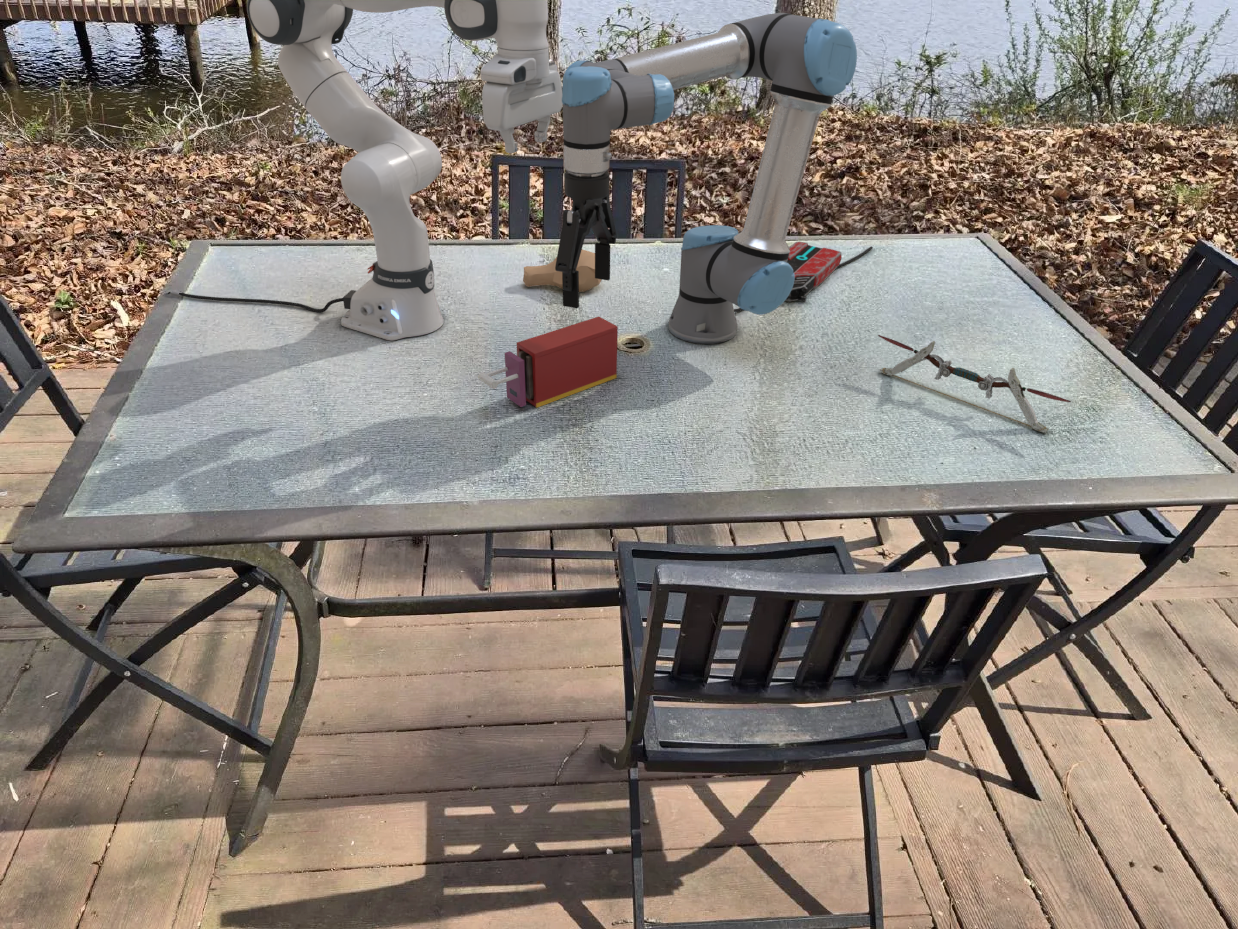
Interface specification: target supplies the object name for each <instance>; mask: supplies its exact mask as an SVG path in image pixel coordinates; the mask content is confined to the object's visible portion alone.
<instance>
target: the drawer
mask: <svg viewBox="0 0 1238 929" xmlns="http://www.w3.org/2000/svg"><path fill="white" fill-rule="evenodd" d="M504 366H505V367H501V368H498V369H496V370H492V371H490V372H487V373H486V372H484V371H481V372H479V373H478V375H477V378H478V380H479V381H481V382H482V383H483V384H485V385H487V386H488V387H489V388H491V389H493V390H495V389H496V388H498V386H499V385H501V384H503V383H505V386H506V398H507V399H509V401H511V402H513V403H514V404H516V405H517V406H519V407H520V408H523V407H525V406H527V401H526V398H528V399H529V400H531V399H534V392H533V363H532V356H531V355H529V354H528V353H526V352H524V351H523V350H522V351H519V357H518V356H517V354H515V353H514V352H512V351H511V350H509V351H505V352H504ZM502 373H505V377H502V378H500V379H497V380H495V378H493V377H494V376H497V375H499V374H502Z"/></svg>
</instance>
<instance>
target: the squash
mask: <svg viewBox="0 0 1238 929" xmlns="http://www.w3.org/2000/svg"><path fill="white" fill-rule="evenodd" d="M556 260H557V256H556V257H555V258H554V260H553V261H551V262H549V263H547V264H542V265H526V266H523V278H522V282H523V284H524V285H525V286H526V287H529V288H530V287H535V286H552V287H557V288H559V289H561V290H563V284H562V272H560V271H556V270H555V266H556ZM576 270H577V271H579V293H586V292H588V291H590V290H592V289H594V288H596V287H597V286H600V284H601V283H602V279H596V278H595V252H593V251H590V250H586V249H583V248H582V250H581V254H580V257H579V261H578V265H577V268H576Z"/></svg>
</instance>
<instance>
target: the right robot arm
mask: <svg viewBox="0 0 1238 929" xmlns="http://www.w3.org/2000/svg"><path fill="white" fill-rule="evenodd" d="M857 61H858V51H857V44H856V41H854V35H852V32H851V31H850V30H849V28H848V27H847V26H845V25H843V23H842V24H841V23H839V22H836V21H832V20H830V19H828V18H826V19H825V18H817V17H811V16H805V15H804V16H803V15H797V14H792V13H787V12H774V13H767V14H763V15H759V16H754V17H750V18H746V19H743V20H738V21H735V22H731V23H727V24H725V25H722V27H721V28H719V30H718V32H715V33H711V34H707V35H702V36H699V37H695V38H692V39H688V40H684V41H680V42H679V41H678V42H676V43H672V44H668V45H663V46H660V47H656V48H651V49H647V50H643V51H640V52H635V53H632V54H628V55H624V56H619V57H615V58H611V59H606V60H602V61H598V62H597V61H596V62H594V61H591V60H576V61H574V62H573V63H571V64H570V65H569V66H568V67H567V68H566V70H565V71H564V74H563V77H562V103H563V105H562V132H563V135H562V136H563V137H562V138H563V143H562V144H563V148H562V149H563V151H562V152H563V169H564V170H565V172H563V184H564V185H563V189H564V190H563V192H564V195H565V196H567V198H570V199H571V201H572V206H571V209H564V210H563V212H562V226H561V231H560V238H559V244H558V248H557V255H556V257H557V260H556V266H555V270H556V271H560V272H562V284H563V289H562V306H563V307H567V308H573V309H579V308H580V292H579V271H577V270H576V268H577V265H578V261H579V257H580V254H581V250H582V249H583V246H584V243H585V240H586V236H588V235H589V234H590V232H591V230H592V232H593V234H594V237H595V239H596V241H597V242H596V243H594V253H595V278H596V279H602V280H604V281H610V280H611V245H615V244H616V242H617V238H616V235H617V230H616V224H615V220H614V216H613V211H612V206H611V201H610V181H611V180H610V177H611V176H610V173H609V169H610V159H612V157H613V154H612V152H611V150H610V149H611V148H610V144H611V132H612V131H614V130H621V129H627V128H628V129H629V128H634V127H643V126H652V125H656V124H659V123H663V122H665V121H667V120H669V118H670V117H671V115H672V113H673V111H674V108H675V90H678V89H682V88H683V89H684V88H687V87H690V86H694V85H697V84H698V85H699V84H701V83H705V82H709V81H712V80H716V79H719V78H723V77H726V78H728V79H730V80H738V79H741V78H759V79H765V80H768V81H771V82H772V83H771V85H770V89H769V94H770V96H771V97H772V100H773V101H774V107H773V110H772V115H771V119H770V123H769V128H768V130H767V135H766V139H765V143H764V147H763V150H762V154H761V159H760V163H759V166H758V170H757V174H756V178H755V183H754V186H753V190H752V194H751V198H750V202H749V207H748V209H747V214H746V218H745V222H744V226H743V229H742V230H741V231H740V232H739V231H738V229H737V228H735V227H733V226H729V225H721V224H720V225H719V224H715V225H713V224H712V225H709V224H708V225H701V226H700V225H699V226H696V227H692V228H690V229H688V230H687V231H686V232H685V233H684V235H683V236H682V245H681V248H680V250H681V251H680V252H681V253H680V271H679V287H678V288H679V289H678V297H677V298H676V302H675V304H674V306H673V309H672V312H671V313H670V316H669V319H668V331H669V332H670V334H671V335H672V336H673V337H676V339H677V338H678V339H679V340H682V341H685V342H689V343H693V344H701V345H713V344H720V343H725V342H727V341H730V340H731V339H733V338H734V337H736V335H737V333H738V320H737V317H736V315H735V314H736V313H738V312H741V311H745V312H749V313H752V314H754V315H768V314H770V313H772V312H773V311H775V310H777V309H778V308H779V307H780V306H781V305H783V304H784V303H785V302H786V301H785V300H786V299H787V297H788V296H789V294H790V292H791V290H792V288H793V284H794V279H795V275H794V273H793V269H792V267H791V266H790V265H789V264H788V263H787V260H788V257H789V253H790V248H789V247H790V246H789V244H788V243H787V240H786V238H787V235H788V232H789V228H790V225H791V220H792V217H793V213H794V210H795V206H796V204H797V200H798V199H797V198H798V196H799V193H800V192H799V191H800V189H801V184H802V180H803V177H804V175H805V174H804V173H805V170H806V166H807V163H808V160H809V156H810V152H811V148H812V145H813V141H814V138H815V133H816V130H817V127H818V123H819V120H820V117H821V114H822V113H823V112H824V111H826V110H827V109H828V108H830V107H832V104H833V99H834V97H835V96H837V95H839V94H841V93H842V92H844V91H845V90H846V88H847V86H849V85H850V84H851V82H852V80H853V77H854V75H855V72H856V68H857ZM872 249H873V246H869V247H868V248H866V249H865V250H863V251H862V252H861V253H859V254H858V255H856V256H854V257H852V258H850V259H848V260H846V261H844V262H840V264H839V266H838V267H837V268H836V269H835V270H837V269H839V268H841V267H843V266H845V265H849V264H850V263H852V262H854V261H856V260H857V259H859V258H861V257H863V256H864V255H866V254H868V252H870V251H871V250H872ZM602 280H601V281H602ZM734 306H736V307H738V308H734Z"/></svg>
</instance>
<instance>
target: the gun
mask: <svg viewBox="0 0 1238 929" xmlns="http://www.w3.org/2000/svg"><path fill="white" fill-rule="evenodd" d="M788 247H789V248H790V253H789V257H788V260H787V263H788V264H789V265H790V266H791V267H792V269H793V273H794V275H795V279H794V284H793V288H792V290H791V292H790V294H789V296H788V297H787V299H786V300H785V301H784V302H790V303H791V302H794V301H800V302H802V303H805V302H806V300H807V295H808V294H809V293H810V292H811V291H812V290H815V289H817V287H819V286H820V285H821V284H823V283H824V282H825V281H826V279H828V278H829V277H830V275H831V274H832V273H833V272H834V271H835V270H837V269H838V268H837V267H838V266H839V264H841V263H842V257H843V255H842V251H840V250H837V249H833V248H827V247H818V246H815V245H810V244H809V243H808V242H804V241H794V243H793V244H791V245H790V246H788ZM836 268H837V269H836Z"/></svg>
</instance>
